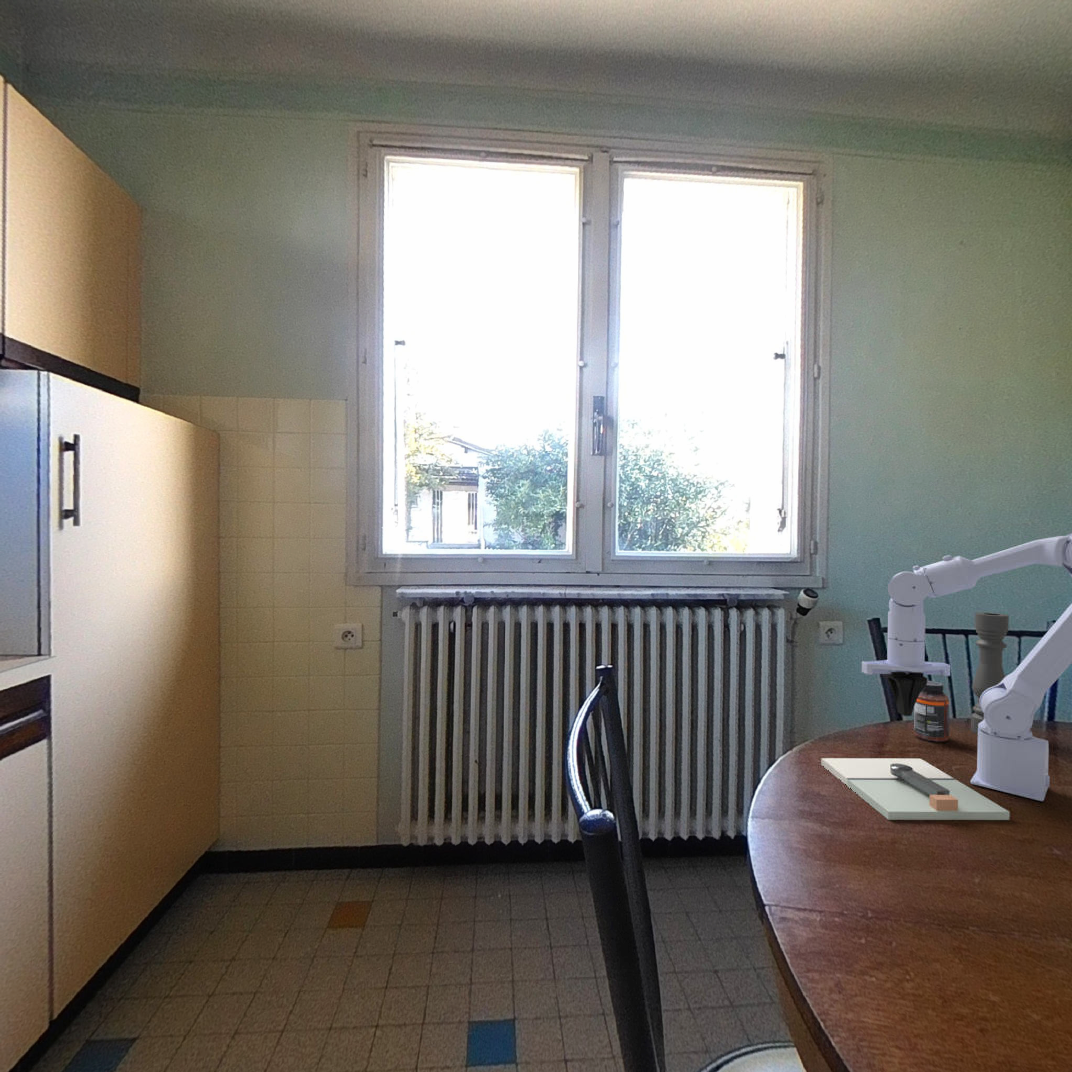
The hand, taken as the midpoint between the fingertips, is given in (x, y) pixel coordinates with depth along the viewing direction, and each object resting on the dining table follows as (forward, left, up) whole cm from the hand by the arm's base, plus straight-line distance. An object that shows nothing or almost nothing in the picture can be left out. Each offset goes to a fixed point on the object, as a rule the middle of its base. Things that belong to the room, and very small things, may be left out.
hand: (904, 714), depth 110 cm
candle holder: (-8, -33, -10) cm, 35 cm away
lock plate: (-3, +11, -9) cm, 15 cm away
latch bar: (-5, +12, -7) cm, 15 cm away
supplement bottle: (0, -21, -10) cm, 23 cm away
